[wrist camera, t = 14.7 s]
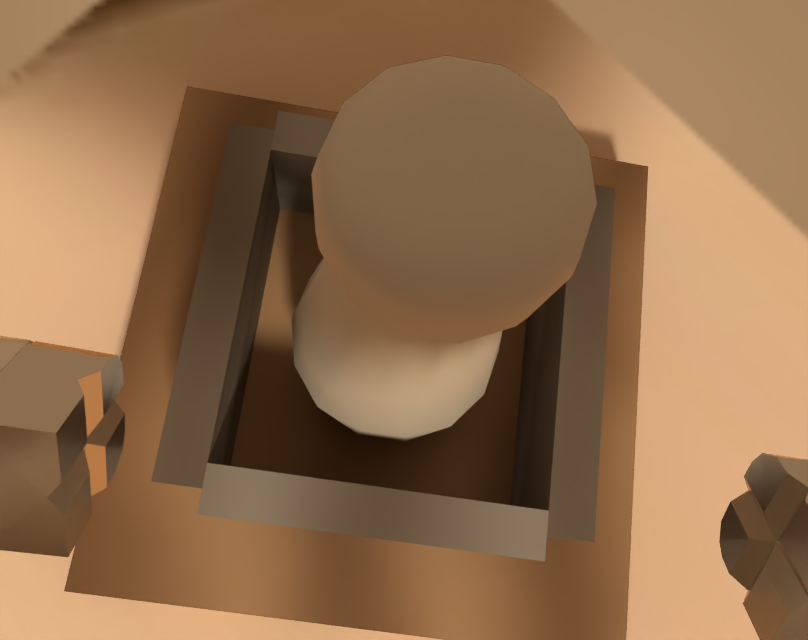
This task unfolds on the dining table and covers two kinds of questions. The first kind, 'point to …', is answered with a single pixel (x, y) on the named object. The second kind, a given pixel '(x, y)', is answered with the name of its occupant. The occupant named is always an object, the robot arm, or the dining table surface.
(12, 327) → the dining table surface
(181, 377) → the walnut socket board
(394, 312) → the beige round peg
